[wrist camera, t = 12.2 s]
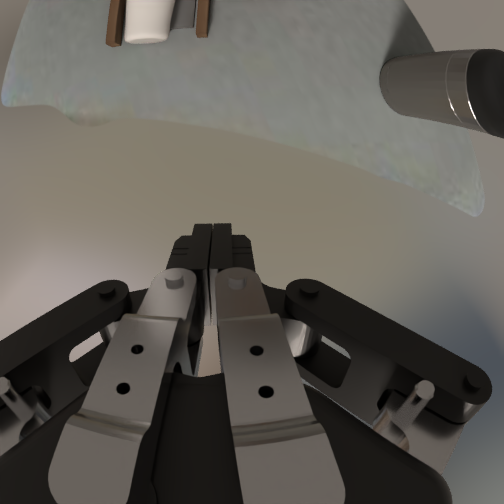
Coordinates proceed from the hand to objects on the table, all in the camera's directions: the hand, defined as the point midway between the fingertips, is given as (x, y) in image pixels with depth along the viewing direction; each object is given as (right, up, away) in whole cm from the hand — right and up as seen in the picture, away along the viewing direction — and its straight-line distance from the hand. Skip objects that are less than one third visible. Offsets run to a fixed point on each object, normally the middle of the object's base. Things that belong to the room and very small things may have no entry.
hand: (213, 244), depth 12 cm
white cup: (-11, +24, +13) cm, 29 cm away
